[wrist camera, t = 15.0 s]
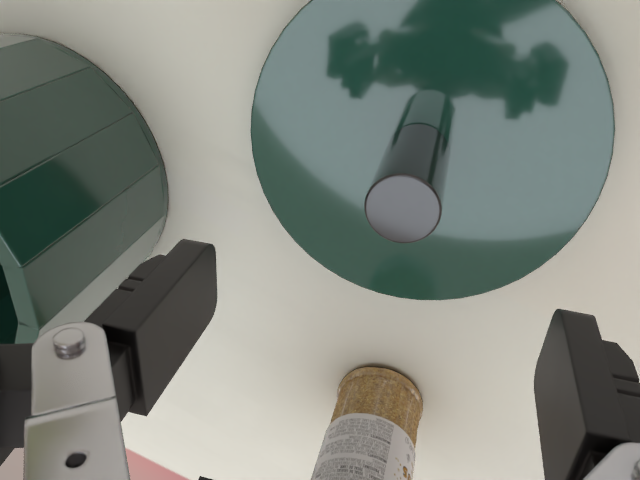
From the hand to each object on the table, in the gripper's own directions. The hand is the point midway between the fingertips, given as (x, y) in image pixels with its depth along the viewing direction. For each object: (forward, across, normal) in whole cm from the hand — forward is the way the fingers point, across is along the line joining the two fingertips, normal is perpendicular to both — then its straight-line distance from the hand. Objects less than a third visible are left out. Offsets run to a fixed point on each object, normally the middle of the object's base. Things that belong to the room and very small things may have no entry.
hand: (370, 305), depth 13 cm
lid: (+10, 0, 0) cm, 10 cm away
